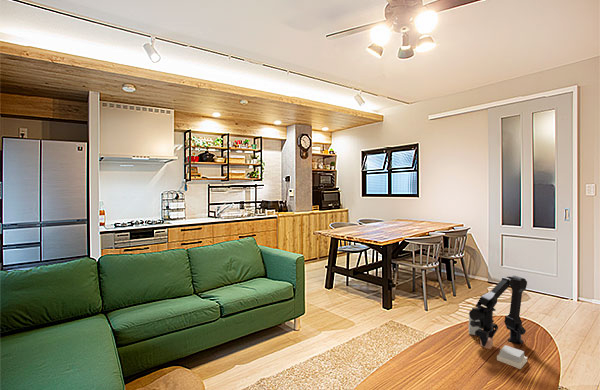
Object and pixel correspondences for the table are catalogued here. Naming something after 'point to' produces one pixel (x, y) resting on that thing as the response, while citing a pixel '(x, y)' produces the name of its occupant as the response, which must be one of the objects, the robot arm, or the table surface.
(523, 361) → the tower base
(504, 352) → the tower top
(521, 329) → the robot arm
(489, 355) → the table surface
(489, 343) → the cube
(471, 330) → the supplement box
